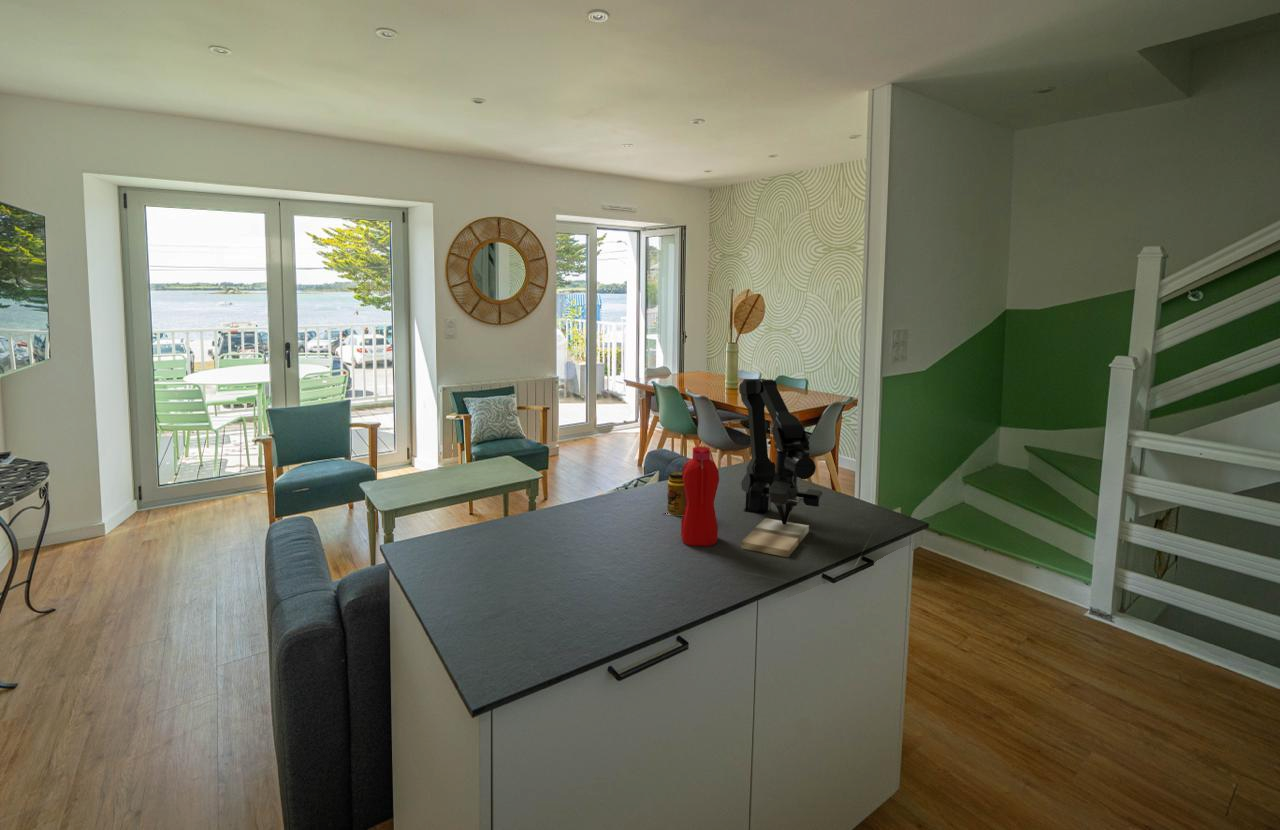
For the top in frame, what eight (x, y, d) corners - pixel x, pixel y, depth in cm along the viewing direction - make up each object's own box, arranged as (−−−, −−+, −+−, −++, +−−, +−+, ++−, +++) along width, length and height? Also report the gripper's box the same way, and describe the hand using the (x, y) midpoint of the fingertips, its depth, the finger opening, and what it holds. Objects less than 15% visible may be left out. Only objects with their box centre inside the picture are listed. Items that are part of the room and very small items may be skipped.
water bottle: (682, 550, 163) (684, 453, 158) (680, 534, 174) (682, 443, 169) (719, 550, 163) (722, 453, 158) (714, 535, 174) (717, 443, 169)
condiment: (662, 514, 190) (663, 474, 188) (671, 505, 198) (672, 467, 195) (686, 517, 187) (687, 477, 185) (694, 508, 195) (695, 469, 193)
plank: (755, 534, 173) (755, 527, 173) (765, 525, 181) (765, 518, 181) (800, 542, 168) (800, 535, 168) (808, 532, 176) (809, 525, 175)
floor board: (741, 549, 164) (741, 541, 164) (753, 536, 173) (754, 529, 172) (788, 558, 158) (788, 550, 158) (798, 544, 167) (799, 537, 167)
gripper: (743, 471, 170) (741, 527, 174) (815, 481, 162) (812, 540, 165) (756, 461, 180) (754, 514, 183) (825, 470, 172) (822, 526, 175)
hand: (784, 523), depth 176 cm, fingers closed, pressing on plank
